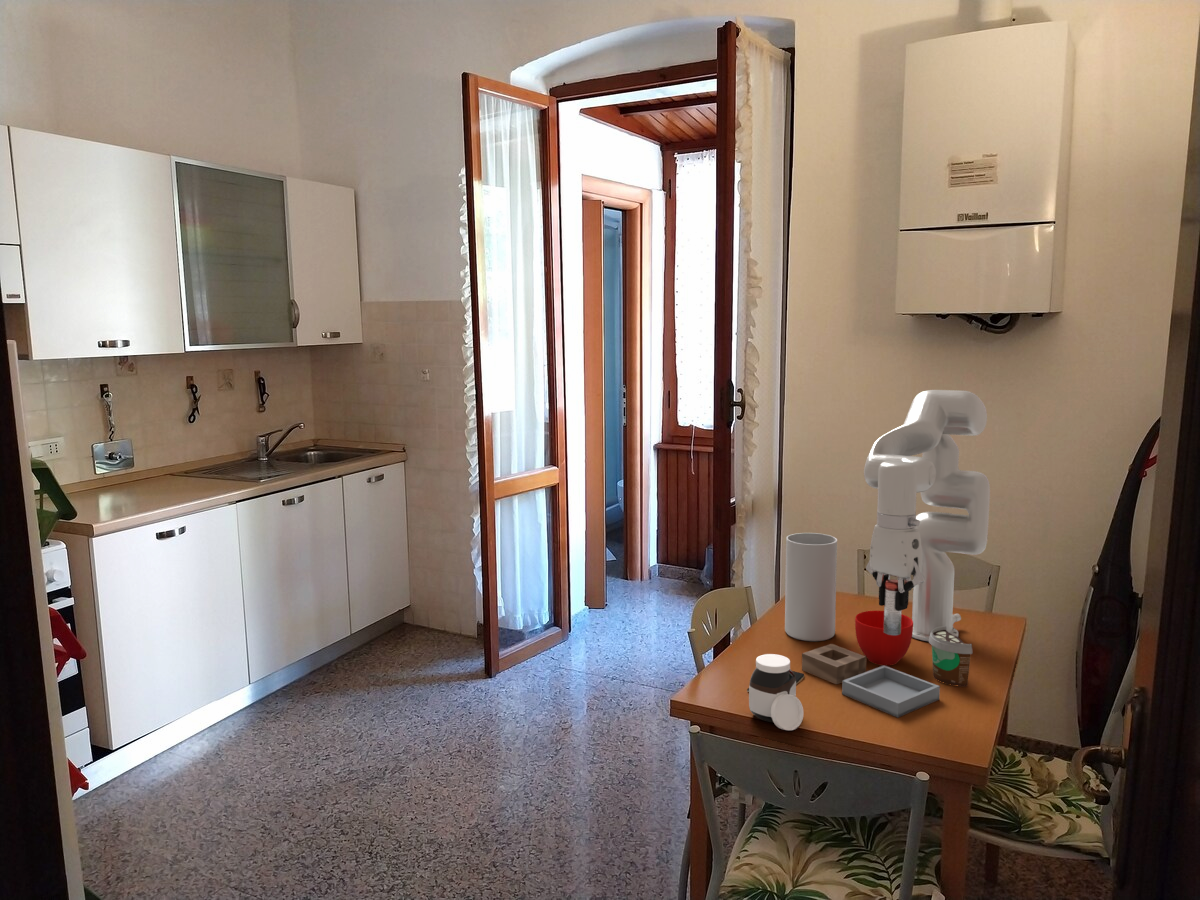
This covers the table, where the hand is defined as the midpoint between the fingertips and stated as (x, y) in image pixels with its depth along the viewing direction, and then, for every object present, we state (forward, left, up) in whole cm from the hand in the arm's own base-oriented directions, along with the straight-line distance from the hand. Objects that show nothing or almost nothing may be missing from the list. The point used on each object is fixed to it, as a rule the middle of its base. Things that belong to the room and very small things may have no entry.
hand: (893, 606), depth 179 cm
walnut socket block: (-1, -16, -20) cm, 26 cm away
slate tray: (0, 0, -20) cm, 20 cm away
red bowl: (-18, -14, -20) cm, 30 cm away
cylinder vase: (-16, -36, -20) cm, 44 cm away
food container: (-18, +1, -20) cm, 27 cm away
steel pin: (0, 0, -6) cm, 6 cm away
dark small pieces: (+14, -19, -21) cm, 32 cm away
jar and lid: (+26, -7, -20) cm, 34 cm away
